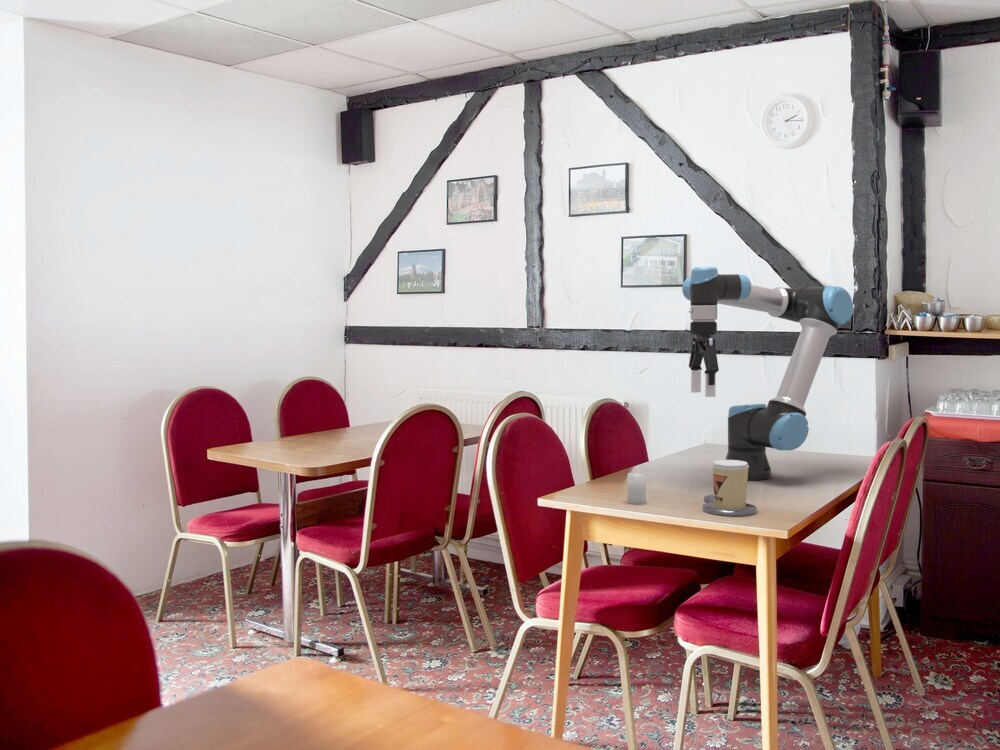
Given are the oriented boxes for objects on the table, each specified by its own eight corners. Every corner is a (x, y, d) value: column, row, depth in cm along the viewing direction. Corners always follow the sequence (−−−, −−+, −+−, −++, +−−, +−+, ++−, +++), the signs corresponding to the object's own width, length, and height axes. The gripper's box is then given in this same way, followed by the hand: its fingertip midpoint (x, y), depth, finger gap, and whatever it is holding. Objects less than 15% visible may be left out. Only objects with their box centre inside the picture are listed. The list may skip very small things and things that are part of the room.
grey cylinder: (643, 500, 259) (643, 472, 258) (647, 504, 254) (647, 475, 253) (625, 500, 258) (625, 472, 258) (629, 504, 253) (629, 475, 253)
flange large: (745, 504, 252) (745, 500, 252) (764, 515, 238) (764, 511, 238) (695, 505, 251) (695, 501, 251) (712, 517, 237) (712, 513, 237)
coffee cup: (707, 504, 248) (707, 459, 247) (741, 503, 249) (741, 459, 248) (718, 511, 239) (718, 466, 238) (753, 510, 239) (754, 465, 239)
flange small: (712, 497, 262) (712, 493, 262) (738, 500, 257) (738, 497, 257) (698, 501, 256) (698, 498, 256) (725, 505, 251) (725, 501, 251)
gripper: (678, 320, 277) (678, 390, 279) (704, 321, 252) (703, 398, 254) (703, 320, 278) (702, 390, 279) (730, 321, 253) (730, 398, 255)
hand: (702, 394), depth 267 cm, fingers open, 13 cm apart
